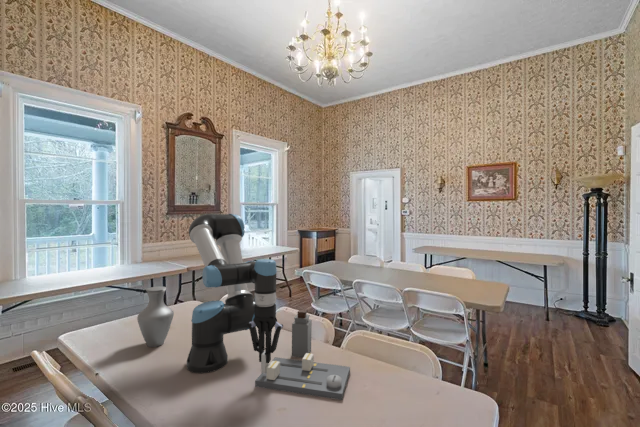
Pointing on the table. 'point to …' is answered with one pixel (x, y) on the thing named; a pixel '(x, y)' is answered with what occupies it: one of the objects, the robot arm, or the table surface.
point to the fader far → (307, 361)
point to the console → (308, 379)
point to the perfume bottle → (301, 334)
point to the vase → (155, 318)
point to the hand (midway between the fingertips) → (264, 371)
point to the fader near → (273, 370)
